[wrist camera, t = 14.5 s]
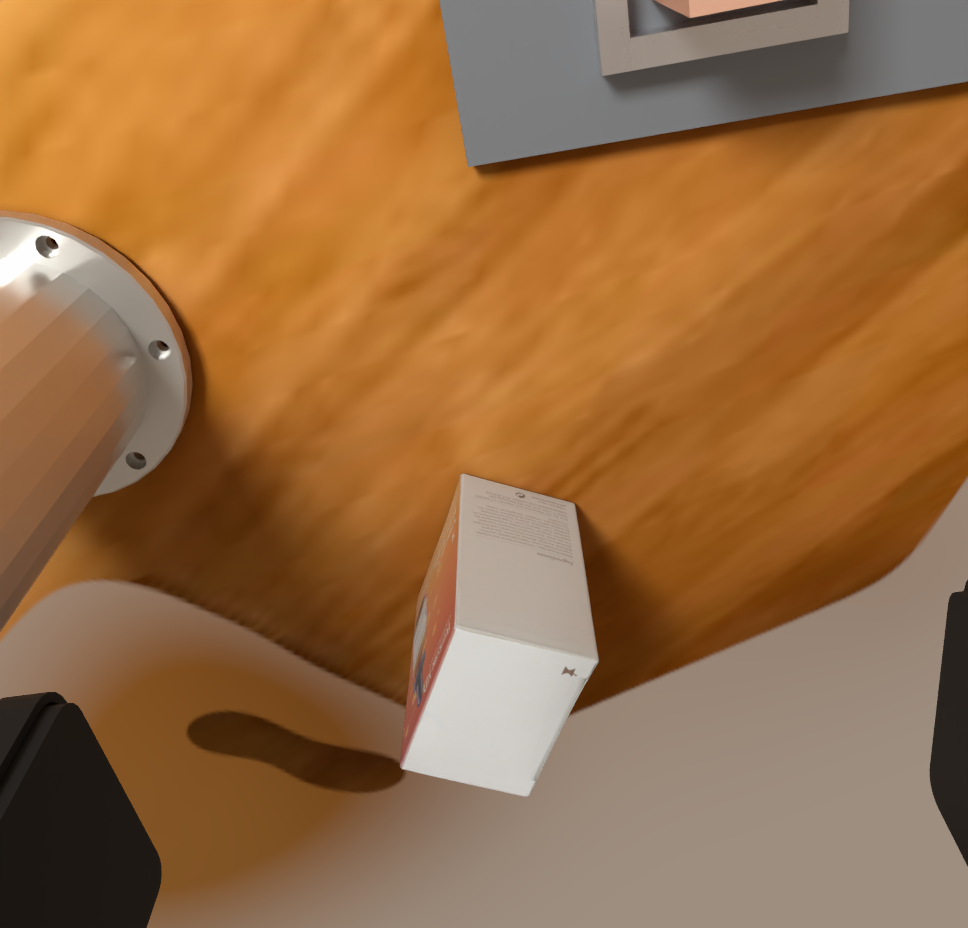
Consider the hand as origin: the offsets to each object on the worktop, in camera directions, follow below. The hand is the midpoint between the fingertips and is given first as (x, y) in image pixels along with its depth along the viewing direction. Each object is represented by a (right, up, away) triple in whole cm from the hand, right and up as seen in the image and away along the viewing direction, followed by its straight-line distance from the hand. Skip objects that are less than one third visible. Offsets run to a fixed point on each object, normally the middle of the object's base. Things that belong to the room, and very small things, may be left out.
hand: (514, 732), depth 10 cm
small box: (0, -1, +34) cm, 34 cm away
